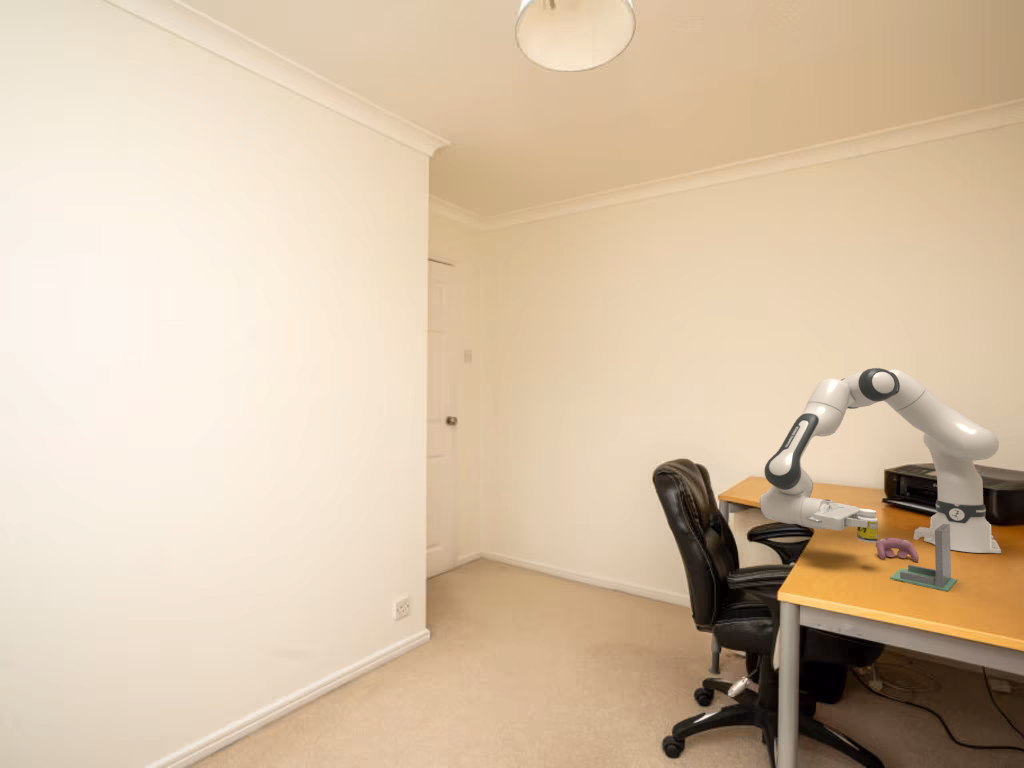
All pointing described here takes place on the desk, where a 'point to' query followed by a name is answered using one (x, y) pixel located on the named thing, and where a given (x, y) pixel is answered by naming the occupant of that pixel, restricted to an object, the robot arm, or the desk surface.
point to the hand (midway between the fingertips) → (871, 522)
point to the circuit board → (945, 588)
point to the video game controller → (902, 545)
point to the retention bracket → (941, 558)
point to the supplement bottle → (872, 530)
